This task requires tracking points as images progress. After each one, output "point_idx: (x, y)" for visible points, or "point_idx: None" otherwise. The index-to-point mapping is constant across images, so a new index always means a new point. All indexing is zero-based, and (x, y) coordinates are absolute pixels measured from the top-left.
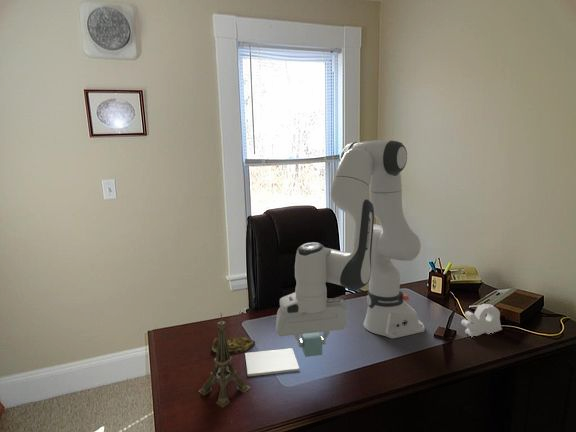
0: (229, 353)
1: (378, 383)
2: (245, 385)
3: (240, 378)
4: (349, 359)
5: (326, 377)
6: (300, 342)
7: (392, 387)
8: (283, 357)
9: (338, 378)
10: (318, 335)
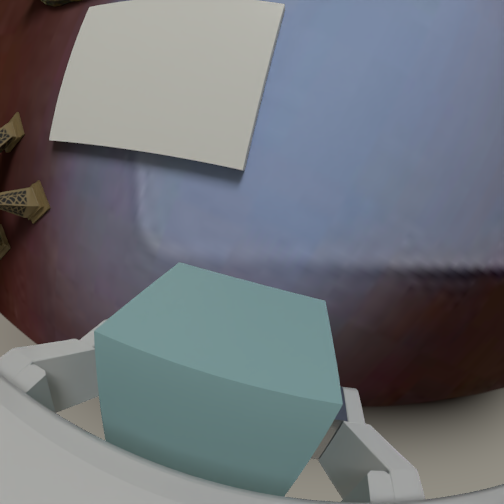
0: (60, 4)
1: (461, 368)
2: (30, 209)
3: (4, 204)
4: (486, 200)
5: (336, 270)
6: (97, 391)
7: (471, 392)
8: (208, 57)
9: (377, 297)
10: (271, 479)
